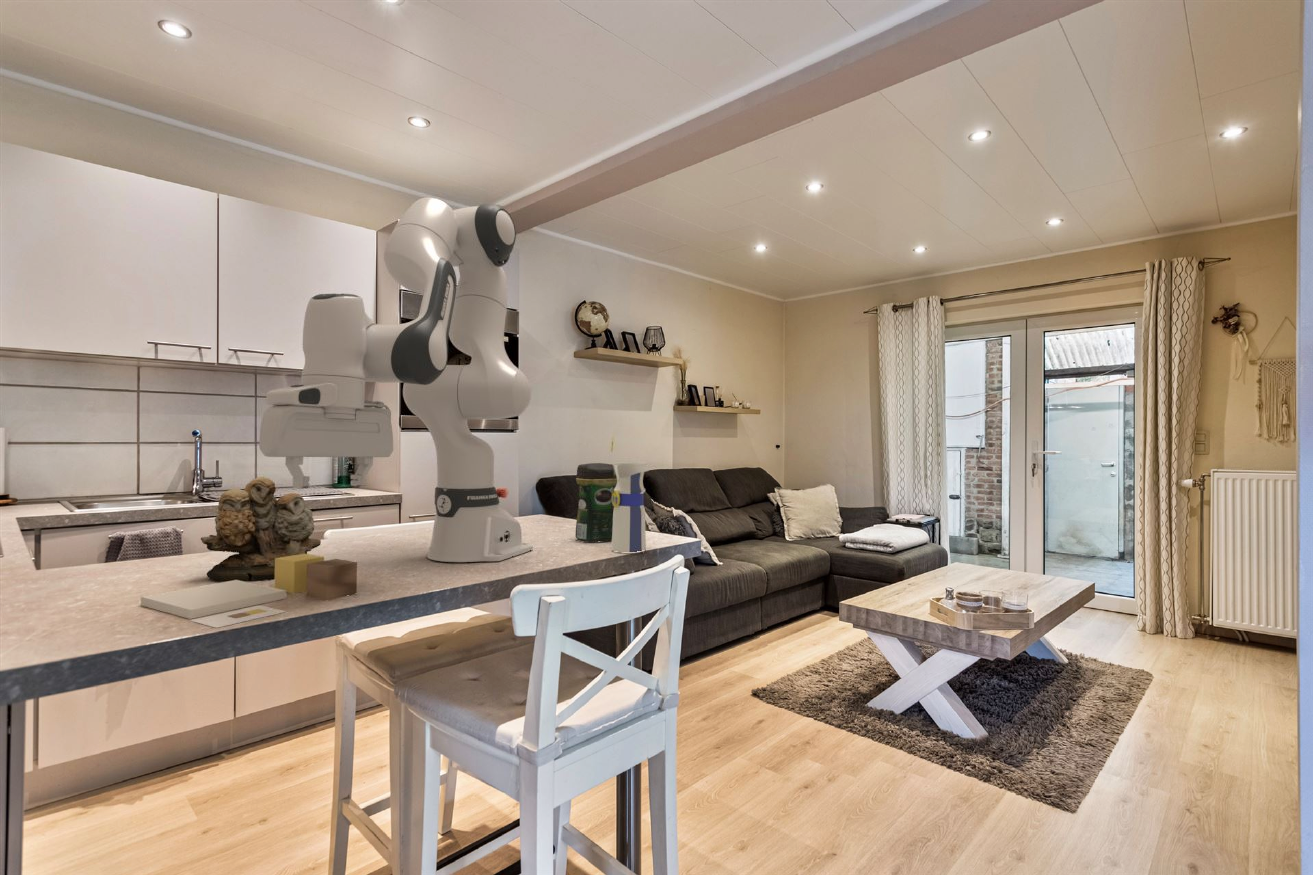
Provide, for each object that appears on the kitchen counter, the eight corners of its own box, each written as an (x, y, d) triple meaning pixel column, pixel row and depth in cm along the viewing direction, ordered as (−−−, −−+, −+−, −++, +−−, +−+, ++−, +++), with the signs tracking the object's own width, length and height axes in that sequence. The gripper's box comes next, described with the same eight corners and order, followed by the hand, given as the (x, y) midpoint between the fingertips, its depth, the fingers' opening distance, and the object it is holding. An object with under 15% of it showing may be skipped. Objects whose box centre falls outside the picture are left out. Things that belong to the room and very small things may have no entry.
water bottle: (619, 555, 139) (621, 437, 139) (603, 548, 146) (605, 436, 146) (654, 552, 142) (656, 437, 142) (636, 546, 150) (638, 437, 150)
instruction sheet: (259, 605, 94) (259, 604, 94) (285, 611, 91) (285, 610, 91) (190, 620, 86) (190, 619, 86) (216, 628, 83) (216, 626, 83)
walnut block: (335, 590, 104) (336, 558, 104) (356, 594, 102) (357, 562, 102) (305, 596, 100) (306, 563, 100) (327, 601, 98) (327, 567, 98)
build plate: (236, 587, 104) (236, 579, 104) (286, 598, 98) (286, 590, 98) (140, 605, 93) (141, 596, 93) (190, 618, 87) (190, 609, 87)
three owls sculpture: (206, 588, 104) (207, 480, 104) (194, 576, 113) (195, 477, 113) (328, 572, 116) (329, 476, 116) (309, 563, 125) (309, 473, 125)
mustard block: (304, 583, 108) (304, 553, 108) (323, 587, 106) (324, 556, 106) (274, 589, 104) (274, 558, 104) (293, 593, 101) (294, 561, 101)
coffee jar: (604, 536, 164) (606, 462, 164) (621, 540, 158) (622, 463, 157) (570, 539, 159) (571, 462, 159) (585, 544, 152) (587, 464, 152)
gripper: (378, 402, 112) (375, 483, 111) (254, 392, 94) (251, 488, 94) (403, 401, 109) (400, 485, 108) (280, 390, 91) (277, 490, 90)
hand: (330, 487), depth 101 cm, fingers open, 8 cm apart
